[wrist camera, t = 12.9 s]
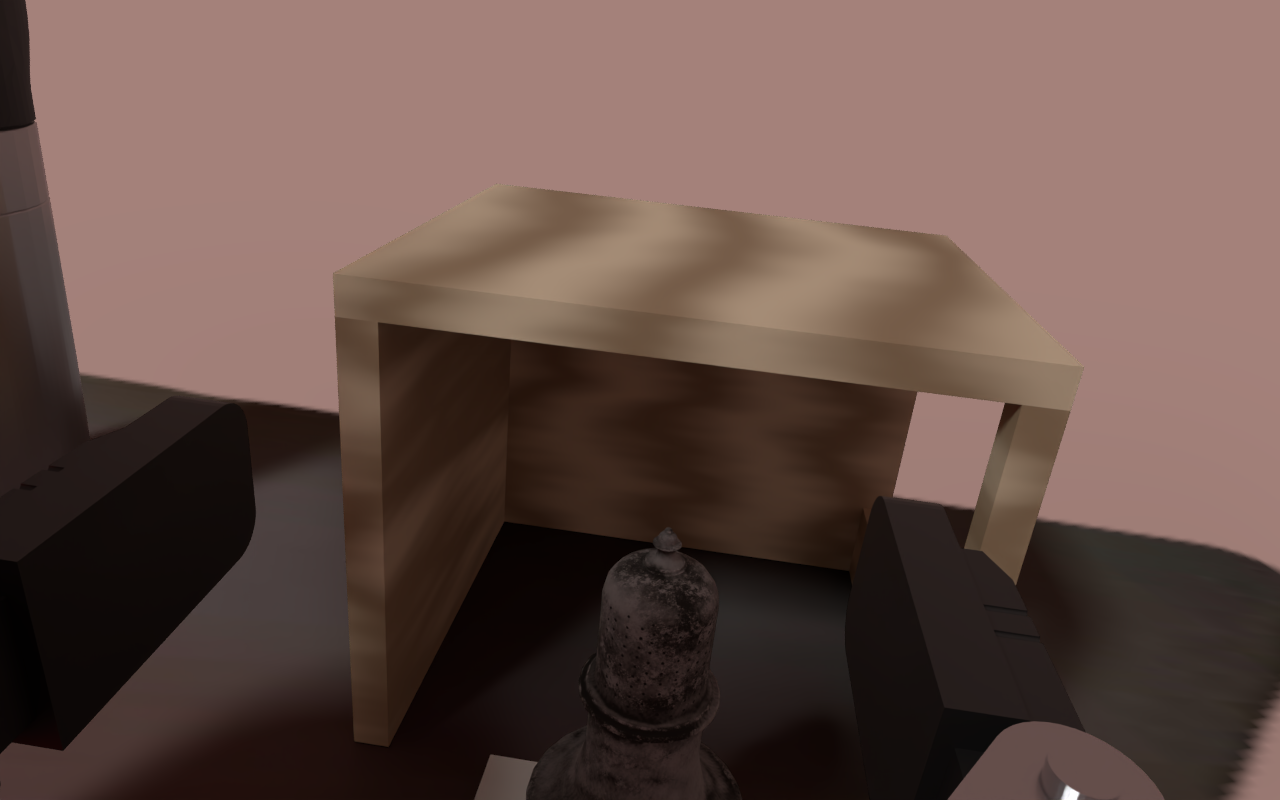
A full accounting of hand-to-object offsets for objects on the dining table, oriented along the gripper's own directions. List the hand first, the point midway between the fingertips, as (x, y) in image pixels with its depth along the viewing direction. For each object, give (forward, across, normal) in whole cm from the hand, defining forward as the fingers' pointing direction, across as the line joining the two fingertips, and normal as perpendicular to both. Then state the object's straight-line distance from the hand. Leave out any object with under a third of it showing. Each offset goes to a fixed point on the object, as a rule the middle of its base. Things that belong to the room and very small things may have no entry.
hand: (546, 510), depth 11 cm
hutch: (+19, -2, +18) cm, 26 cm away
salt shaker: (+7, -2, +17) cm, 19 cm away
